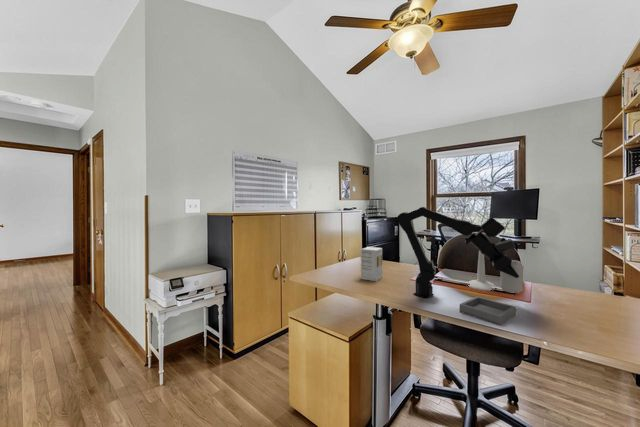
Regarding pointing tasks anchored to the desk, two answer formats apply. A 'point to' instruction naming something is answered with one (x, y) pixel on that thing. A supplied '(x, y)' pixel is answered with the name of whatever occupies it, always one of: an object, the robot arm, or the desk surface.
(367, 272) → the supplement box
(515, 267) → the can
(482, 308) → the well tray
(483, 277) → the candlestick
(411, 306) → the desk surface
